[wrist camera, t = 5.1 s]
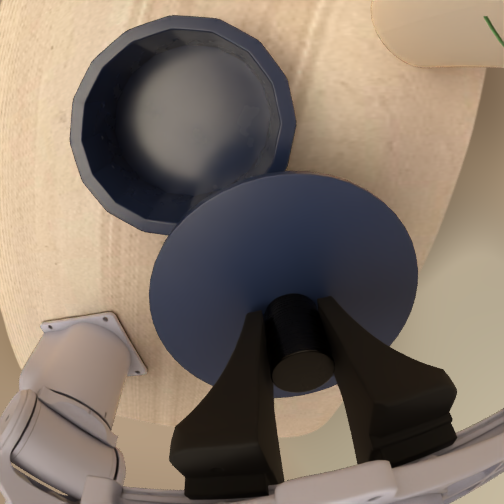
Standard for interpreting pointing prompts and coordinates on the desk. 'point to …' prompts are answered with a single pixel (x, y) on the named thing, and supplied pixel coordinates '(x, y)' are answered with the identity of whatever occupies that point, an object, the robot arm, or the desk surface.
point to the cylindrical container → (442, 31)
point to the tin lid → (281, 274)
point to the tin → (178, 118)
